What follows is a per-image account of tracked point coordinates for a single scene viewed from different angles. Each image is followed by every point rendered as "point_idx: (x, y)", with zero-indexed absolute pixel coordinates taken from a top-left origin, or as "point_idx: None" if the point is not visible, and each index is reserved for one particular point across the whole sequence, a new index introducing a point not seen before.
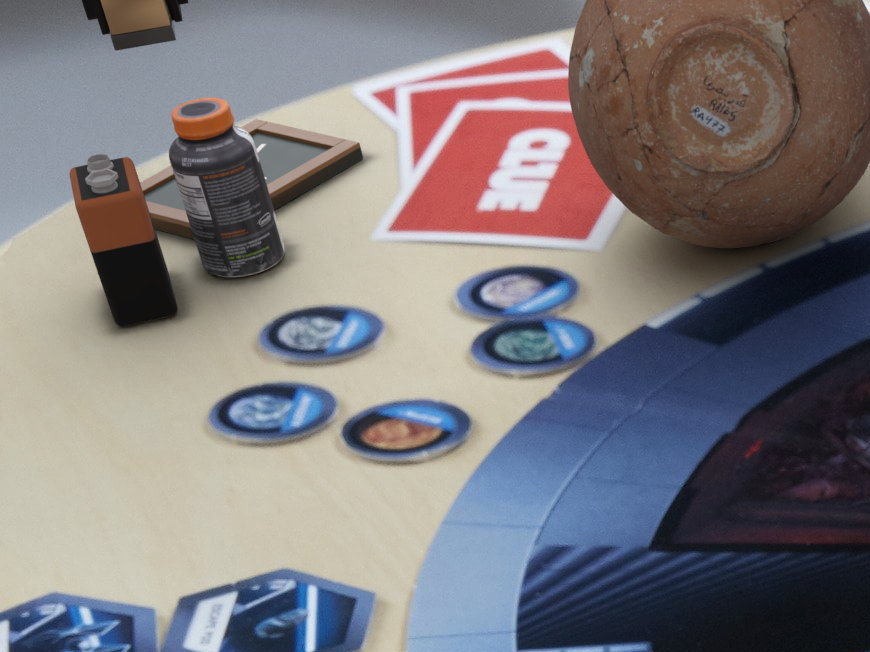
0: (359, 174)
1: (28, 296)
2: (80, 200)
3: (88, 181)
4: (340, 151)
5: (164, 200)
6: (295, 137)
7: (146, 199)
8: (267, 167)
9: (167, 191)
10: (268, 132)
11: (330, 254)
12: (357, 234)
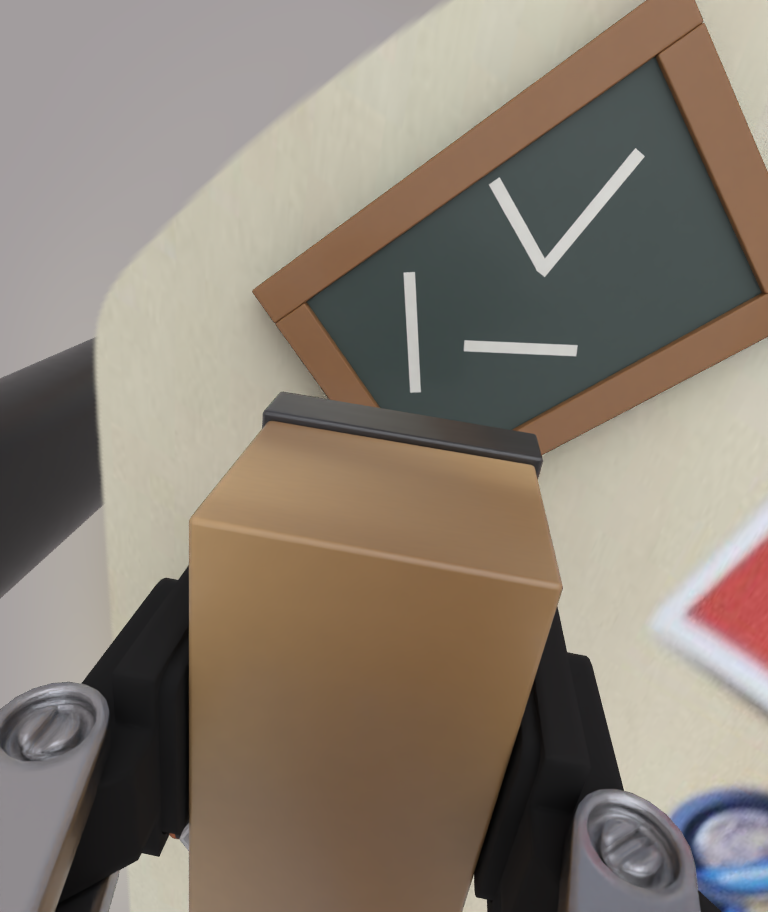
0: (757, 371)
1: (121, 506)
2: (173, 836)
3: (185, 844)
4: (764, 331)
5: (364, 338)
6: (716, 181)
7: (332, 312)
8: (597, 297)
9: (377, 295)
10: (675, 96)
11: (572, 632)
12: (637, 596)
